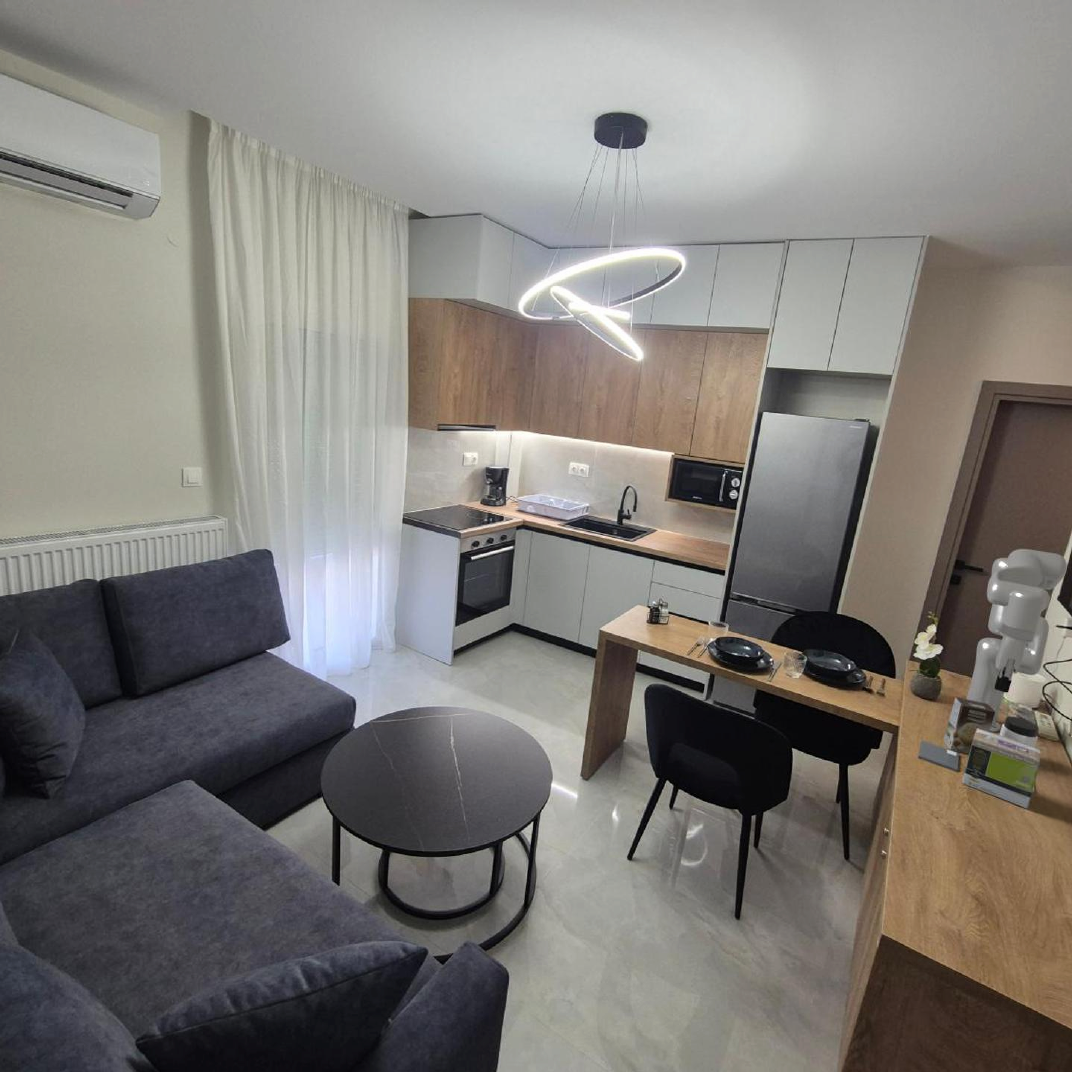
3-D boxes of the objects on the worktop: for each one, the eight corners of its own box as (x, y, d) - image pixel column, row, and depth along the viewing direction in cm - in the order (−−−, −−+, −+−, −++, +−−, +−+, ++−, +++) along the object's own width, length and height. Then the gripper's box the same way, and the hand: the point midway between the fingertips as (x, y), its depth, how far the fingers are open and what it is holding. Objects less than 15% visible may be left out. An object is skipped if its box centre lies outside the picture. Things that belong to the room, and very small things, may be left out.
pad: (921, 742, 187) (921, 740, 187) (958, 755, 182) (958, 752, 181) (918, 757, 178) (918, 755, 178) (957, 771, 172) (957, 769, 172)
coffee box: (949, 750, 184) (961, 705, 181) (942, 740, 190) (954, 696, 187) (983, 757, 181) (995, 712, 178) (975, 747, 187) (987, 702, 184)
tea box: (1029, 794, 164) (1043, 748, 161) (1027, 810, 157) (1041, 762, 153) (965, 770, 174) (977, 726, 171) (960, 783, 166) (973, 738, 163)
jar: (1033, 759, 183) (1043, 725, 180) (1027, 767, 178) (1037, 733, 175) (998, 745, 190) (1007, 713, 187) (992, 753, 184) (1001, 719, 182)
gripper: (1000, 622, 173) (985, 677, 177) (1001, 635, 161) (985, 694, 165) (1032, 629, 168) (1016, 686, 173) (1035, 643, 157) (1018, 704, 161)
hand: (1001, 690), depth 169 cm, fingers closed
